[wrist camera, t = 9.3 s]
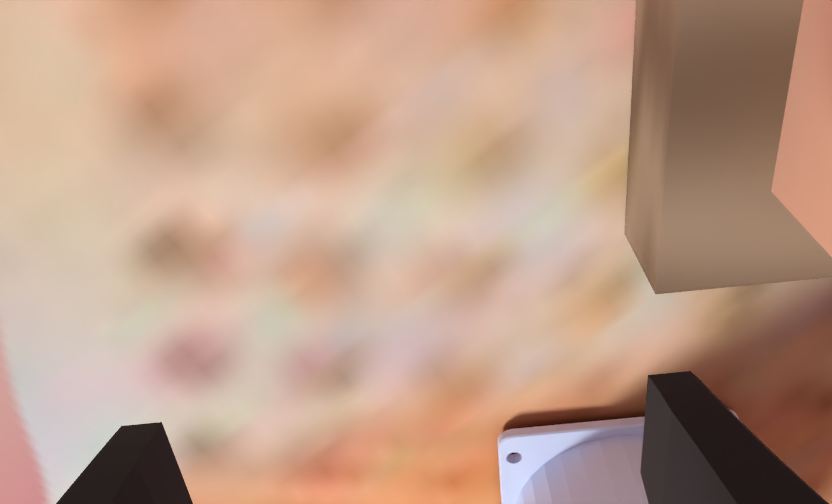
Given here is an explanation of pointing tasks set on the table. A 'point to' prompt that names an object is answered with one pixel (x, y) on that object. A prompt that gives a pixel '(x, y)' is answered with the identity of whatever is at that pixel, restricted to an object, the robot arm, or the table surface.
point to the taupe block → (713, 146)
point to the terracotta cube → (809, 127)
